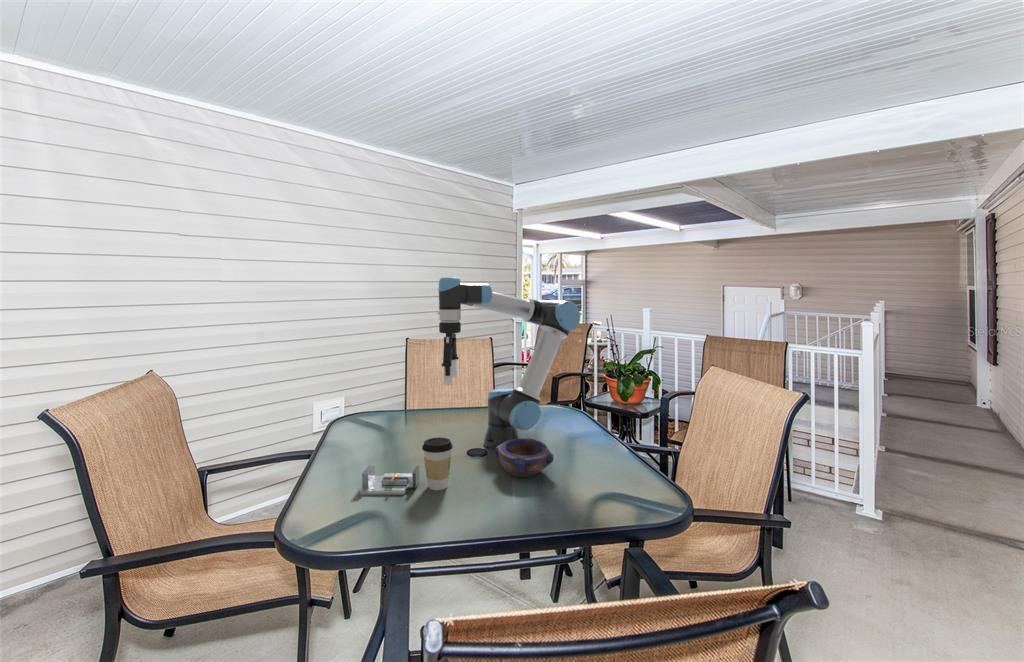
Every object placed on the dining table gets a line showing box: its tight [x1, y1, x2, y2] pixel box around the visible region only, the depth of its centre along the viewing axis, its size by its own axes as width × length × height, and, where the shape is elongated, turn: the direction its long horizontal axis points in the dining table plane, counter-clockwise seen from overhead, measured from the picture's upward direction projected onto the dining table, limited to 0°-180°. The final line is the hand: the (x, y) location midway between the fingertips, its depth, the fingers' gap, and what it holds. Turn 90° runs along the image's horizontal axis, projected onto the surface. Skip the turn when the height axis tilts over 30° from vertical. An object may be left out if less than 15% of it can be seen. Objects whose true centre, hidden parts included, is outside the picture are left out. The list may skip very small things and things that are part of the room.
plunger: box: [382, 465, 420, 489], centre depth 149 cm, size 11×8×5 cm
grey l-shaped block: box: [359, 465, 411, 496], centre depth 150 cm, size 14×12×6 cm
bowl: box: [494, 437, 554, 478], centre depth 161 cm, size 18×18×10 cm
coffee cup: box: [421, 437, 454, 491], centre depth 150 cm, size 10×10×15 cm
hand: (450, 381), depth 163 cm, fingers open, 13 cm apart
